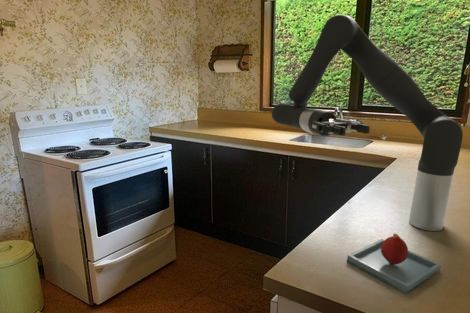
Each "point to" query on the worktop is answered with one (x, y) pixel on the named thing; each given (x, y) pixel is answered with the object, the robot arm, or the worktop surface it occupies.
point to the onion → (394, 250)
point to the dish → (394, 267)
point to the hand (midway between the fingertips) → (356, 130)
